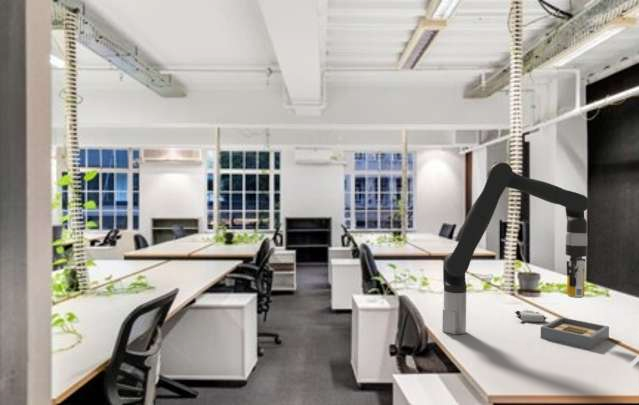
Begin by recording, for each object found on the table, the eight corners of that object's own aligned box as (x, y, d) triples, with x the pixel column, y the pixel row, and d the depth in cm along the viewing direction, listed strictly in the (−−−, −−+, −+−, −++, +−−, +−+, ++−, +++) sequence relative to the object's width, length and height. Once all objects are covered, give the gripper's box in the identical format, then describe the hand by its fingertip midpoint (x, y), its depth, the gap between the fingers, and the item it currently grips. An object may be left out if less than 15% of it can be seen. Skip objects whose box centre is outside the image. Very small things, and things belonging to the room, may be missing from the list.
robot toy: (513, 317, 215) (518, 323, 200) (513, 308, 215) (518, 313, 200) (540, 319, 211) (548, 326, 197) (540, 310, 212) (548, 315, 197)
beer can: (578, 295, 181) (578, 258, 181) (587, 298, 175) (588, 260, 175) (563, 294, 181) (564, 258, 181) (572, 298, 175) (573, 260, 174)
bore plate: (588, 346, 168) (588, 338, 168) (549, 337, 179) (549, 329, 179) (600, 338, 178) (600, 331, 178) (562, 330, 188) (562, 323, 188)
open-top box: (590, 352, 164) (591, 337, 164) (540, 340, 177) (540, 326, 177) (608, 340, 179) (609, 326, 179) (561, 329, 192) (561, 317, 192)
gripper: (572, 242, 185) (571, 281, 185) (559, 244, 176) (558, 286, 176) (592, 243, 180) (591, 284, 180) (580, 246, 170) (579, 289, 170)
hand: (575, 285), depth 178 cm, fingers closed on beer can, 6 cm apart
